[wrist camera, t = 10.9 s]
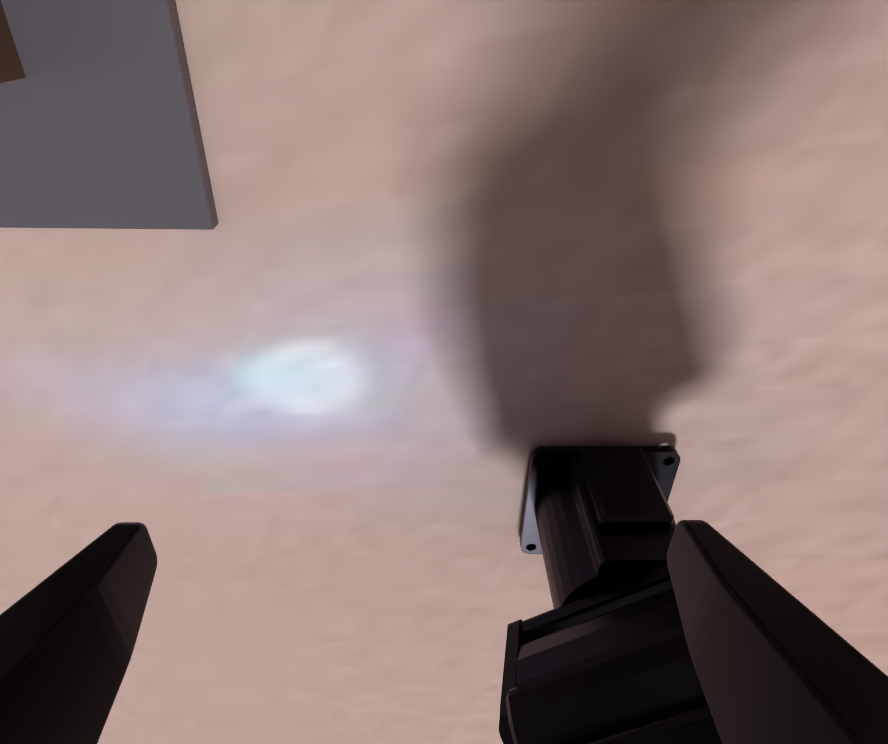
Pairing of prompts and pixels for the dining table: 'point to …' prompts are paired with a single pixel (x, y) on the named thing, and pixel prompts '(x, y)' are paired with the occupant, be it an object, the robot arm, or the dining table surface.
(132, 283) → the dining table surface
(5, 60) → the tower base
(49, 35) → the plate
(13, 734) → the robot arm
